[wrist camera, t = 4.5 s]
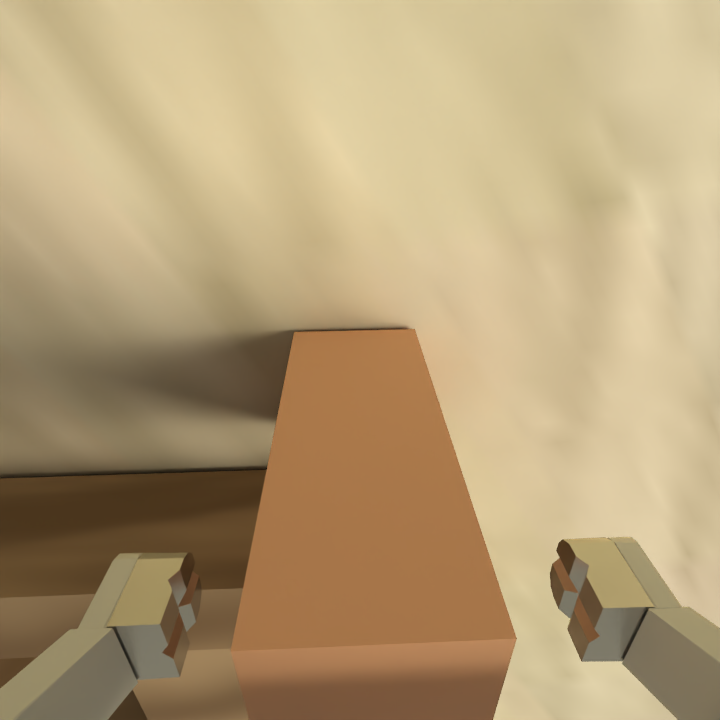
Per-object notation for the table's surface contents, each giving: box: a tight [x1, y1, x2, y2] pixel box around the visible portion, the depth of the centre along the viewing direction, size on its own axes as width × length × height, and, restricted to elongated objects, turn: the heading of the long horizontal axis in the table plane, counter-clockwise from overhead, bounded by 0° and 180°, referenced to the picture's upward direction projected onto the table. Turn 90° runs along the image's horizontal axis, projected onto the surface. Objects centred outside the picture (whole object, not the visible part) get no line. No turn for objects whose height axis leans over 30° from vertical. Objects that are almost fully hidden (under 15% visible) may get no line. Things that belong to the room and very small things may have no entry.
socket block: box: [0, 470, 267, 720], centre depth 18 cm, size 12×20×5 cm, turn 90°
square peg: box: [231, 329, 517, 720], centre depth 12 cm, size 4×4×10 cm
